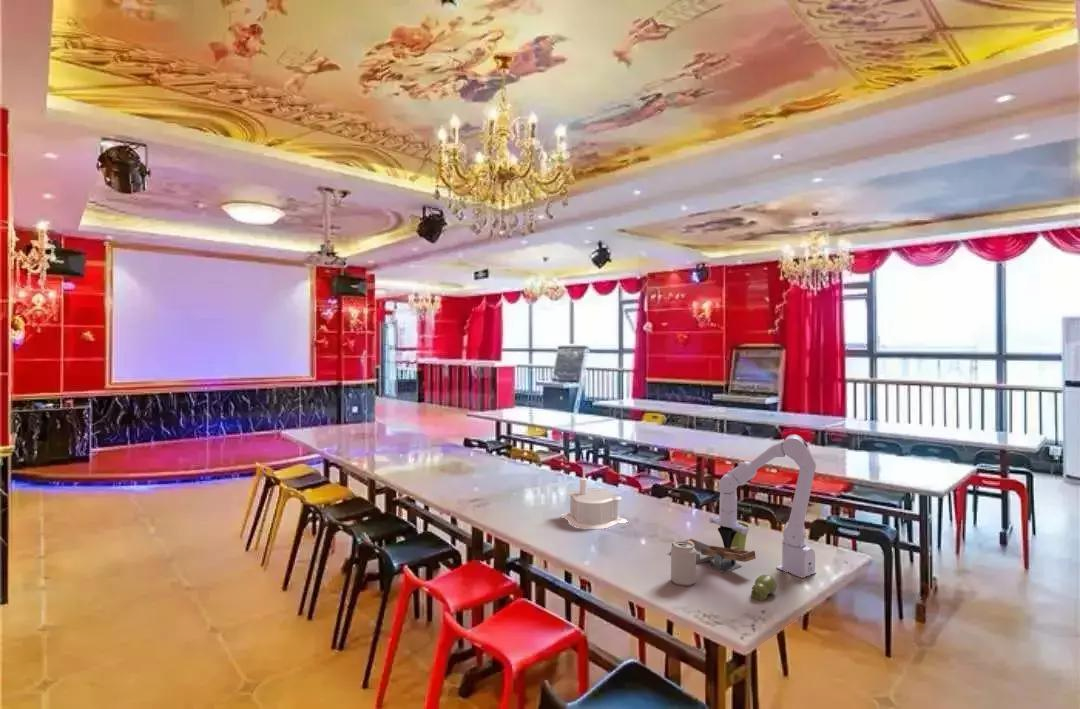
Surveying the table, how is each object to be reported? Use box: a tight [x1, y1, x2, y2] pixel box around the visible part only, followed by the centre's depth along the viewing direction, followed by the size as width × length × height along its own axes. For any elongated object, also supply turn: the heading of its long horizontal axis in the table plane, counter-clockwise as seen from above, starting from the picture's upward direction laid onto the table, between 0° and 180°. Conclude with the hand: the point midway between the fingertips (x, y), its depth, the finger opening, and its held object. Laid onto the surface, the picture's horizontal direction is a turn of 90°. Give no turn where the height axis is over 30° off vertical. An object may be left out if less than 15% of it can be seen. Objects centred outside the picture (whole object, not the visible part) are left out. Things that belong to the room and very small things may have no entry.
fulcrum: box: [708, 553, 742, 574], centre depth 186 cm, size 6×9×5 cm, turn 123°
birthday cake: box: [561, 467, 629, 529], centre depth 236 cm, size 30×29×22 cm
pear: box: [751, 574, 778, 602], centre depth 165 cm, size 6×5×10 cm
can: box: [670, 540, 697, 587], centre depth 173 cm, size 8×8×12 cm
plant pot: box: [731, 521, 750, 551], centre depth 202 cm, size 9×9×9 cm
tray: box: [671, 538, 714, 564], centre depth 196 cm, size 12×10×3 cm
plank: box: [701, 545, 757, 563], centre depth 187 cm, size 18×13×2 cm
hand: (727, 548), depth 193 cm, fingers closed, pressing on plank
